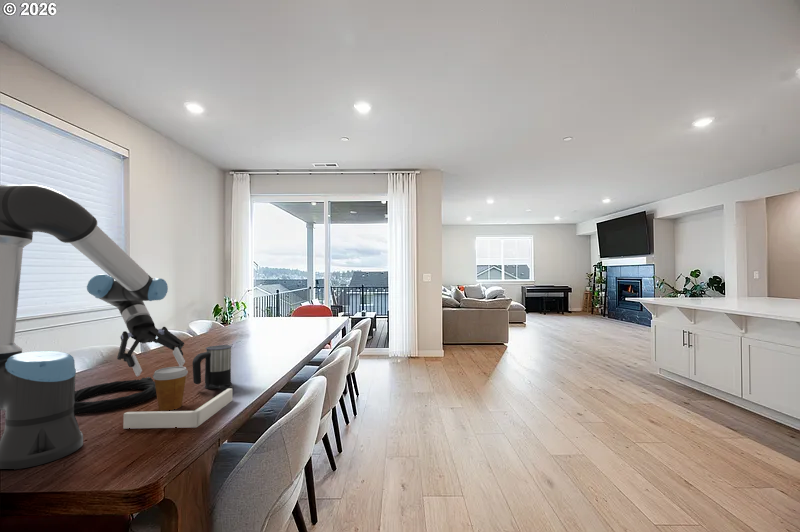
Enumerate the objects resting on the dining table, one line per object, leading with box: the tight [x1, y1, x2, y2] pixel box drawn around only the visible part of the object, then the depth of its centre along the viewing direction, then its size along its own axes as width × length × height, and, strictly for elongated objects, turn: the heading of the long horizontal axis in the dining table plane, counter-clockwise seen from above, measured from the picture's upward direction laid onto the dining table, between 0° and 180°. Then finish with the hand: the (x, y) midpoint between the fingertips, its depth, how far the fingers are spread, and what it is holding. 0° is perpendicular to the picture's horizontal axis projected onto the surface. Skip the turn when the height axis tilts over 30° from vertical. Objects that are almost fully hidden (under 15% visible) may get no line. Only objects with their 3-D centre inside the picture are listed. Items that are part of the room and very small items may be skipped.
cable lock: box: [74, 376, 157, 415], centre depth 126 cm, size 28×4×30 cm
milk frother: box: [192, 344, 234, 392], centre depth 136 cm, size 14×16×15 cm
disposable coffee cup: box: [152, 365, 189, 411], centre depth 116 cm, size 10×10×12 cm
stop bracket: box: [122, 388, 233, 430], centre depth 111 cm, size 22×20×4 cm
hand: (162, 368), depth 121 cm, fingers open, 13 cm apart
